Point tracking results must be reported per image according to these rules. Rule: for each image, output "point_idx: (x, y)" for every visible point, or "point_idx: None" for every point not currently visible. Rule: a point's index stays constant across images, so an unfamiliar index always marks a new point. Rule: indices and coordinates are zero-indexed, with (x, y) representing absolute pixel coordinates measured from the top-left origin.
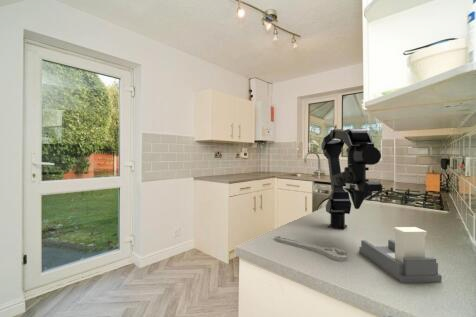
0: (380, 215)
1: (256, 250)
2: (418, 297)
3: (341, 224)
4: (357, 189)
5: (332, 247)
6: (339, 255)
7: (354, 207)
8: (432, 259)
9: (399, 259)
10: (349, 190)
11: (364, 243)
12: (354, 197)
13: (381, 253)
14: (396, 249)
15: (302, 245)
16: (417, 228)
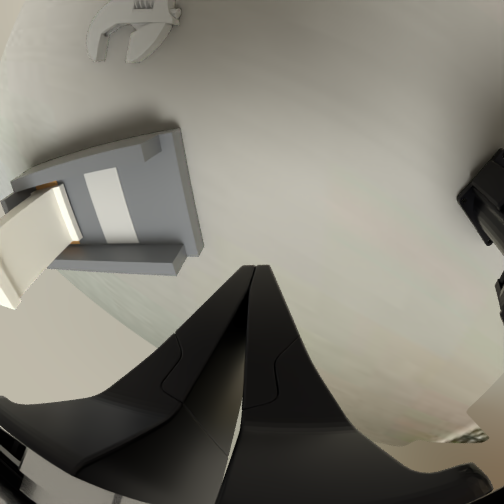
0: (490, 376)
1: None
2: (8, 170)
3: (481, 209)
4: (40, 461)
5: (169, 14)
6: (96, 34)
7: (270, 268)
8: None
9: (31, 198)
10: (231, 482)
11: (122, 147)
12: (185, 362)
13: (46, 168)
14: (21, 208)
15: None
16: (6, 304)
